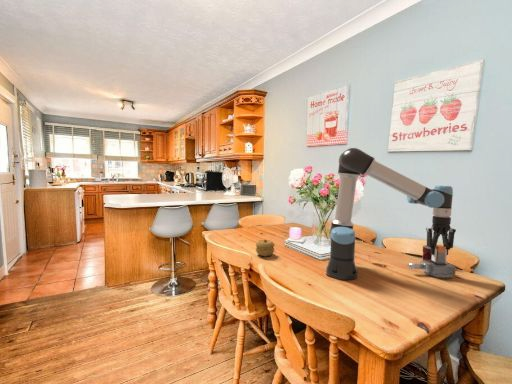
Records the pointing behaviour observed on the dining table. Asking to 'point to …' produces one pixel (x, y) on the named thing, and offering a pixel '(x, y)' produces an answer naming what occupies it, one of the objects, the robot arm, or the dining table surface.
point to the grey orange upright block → (440, 255)
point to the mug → (426, 253)
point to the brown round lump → (265, 247)
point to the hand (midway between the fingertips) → (438, 260)
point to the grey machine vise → (435, 269)
